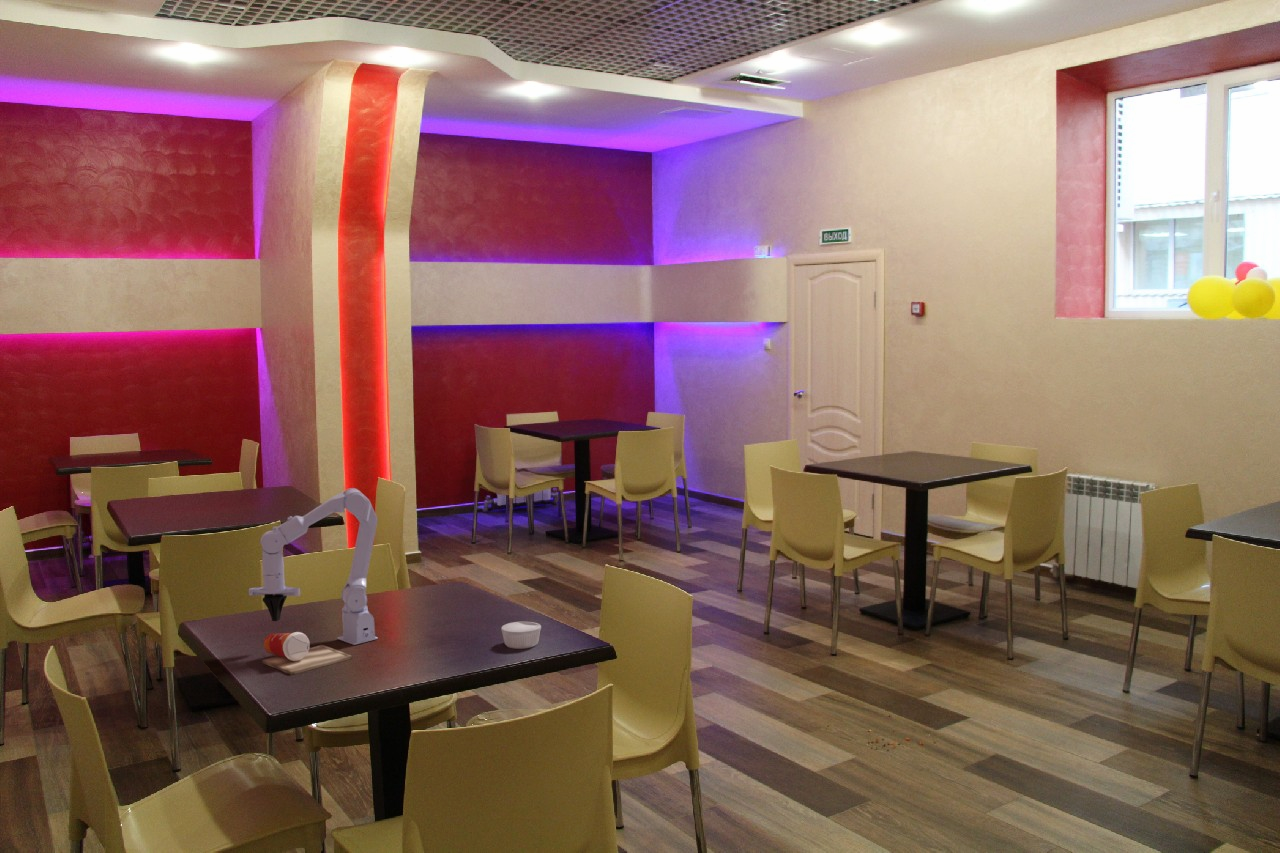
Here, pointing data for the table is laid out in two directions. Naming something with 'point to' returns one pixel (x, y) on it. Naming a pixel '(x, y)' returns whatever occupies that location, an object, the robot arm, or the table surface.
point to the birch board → (308, 660)
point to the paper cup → (287, 645)
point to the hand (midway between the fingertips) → (276, 620)
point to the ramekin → (521, 634)
